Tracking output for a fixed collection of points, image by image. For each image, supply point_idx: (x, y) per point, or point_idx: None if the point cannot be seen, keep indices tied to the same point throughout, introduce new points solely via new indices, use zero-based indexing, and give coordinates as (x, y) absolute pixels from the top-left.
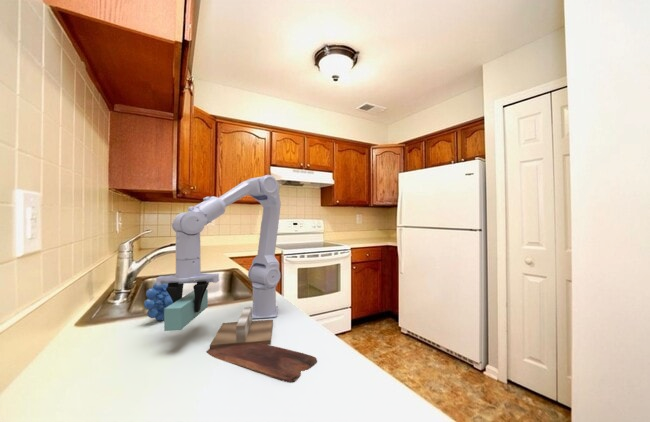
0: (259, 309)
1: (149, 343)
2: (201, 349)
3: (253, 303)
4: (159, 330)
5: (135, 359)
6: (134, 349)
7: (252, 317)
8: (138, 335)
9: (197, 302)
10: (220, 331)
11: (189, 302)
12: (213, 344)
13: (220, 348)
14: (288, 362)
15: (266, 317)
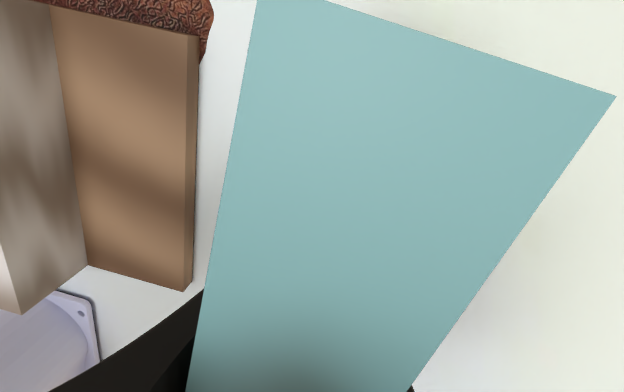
0: (19, 324)
1: (514, 246)
2: (243, 55)
3: (32, 372)
4: (468, 364)
5: (594, 66)
6: (592, 206)
7: (75, 301)
8: (565, 356)
9: (165, 332)
10: (171, 198)
11: (205, 296)
12: (168, 34)
13: (136, 2)
14: None
15: None
